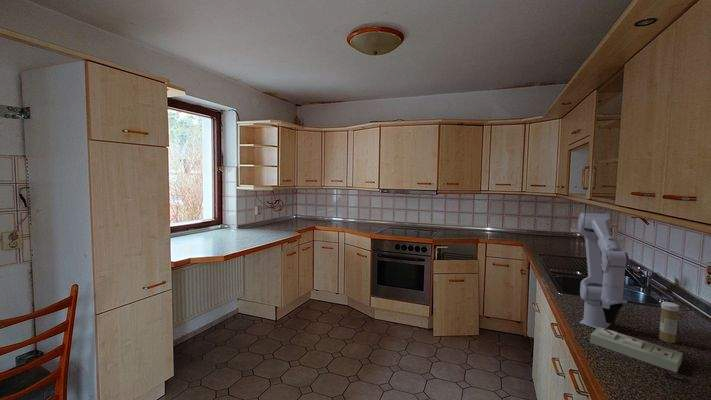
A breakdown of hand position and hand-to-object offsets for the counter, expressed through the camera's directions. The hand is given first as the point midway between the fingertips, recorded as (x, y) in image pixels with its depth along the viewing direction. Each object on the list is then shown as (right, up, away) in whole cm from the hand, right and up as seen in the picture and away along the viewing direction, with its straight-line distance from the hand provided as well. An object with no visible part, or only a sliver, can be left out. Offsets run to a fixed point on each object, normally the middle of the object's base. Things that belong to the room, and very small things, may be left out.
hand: (610, 323), depth 114 cm
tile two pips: (+8, -7, -10) cm, 15 cm away
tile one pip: (+4, -6, -5) cm, 9 cm away
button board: (+4, -8, -5) cm, 10 cm away
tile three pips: (0, -5, +1) cm, 5 cm away
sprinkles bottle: (+22, -7, +3) cm, 24 cm away
